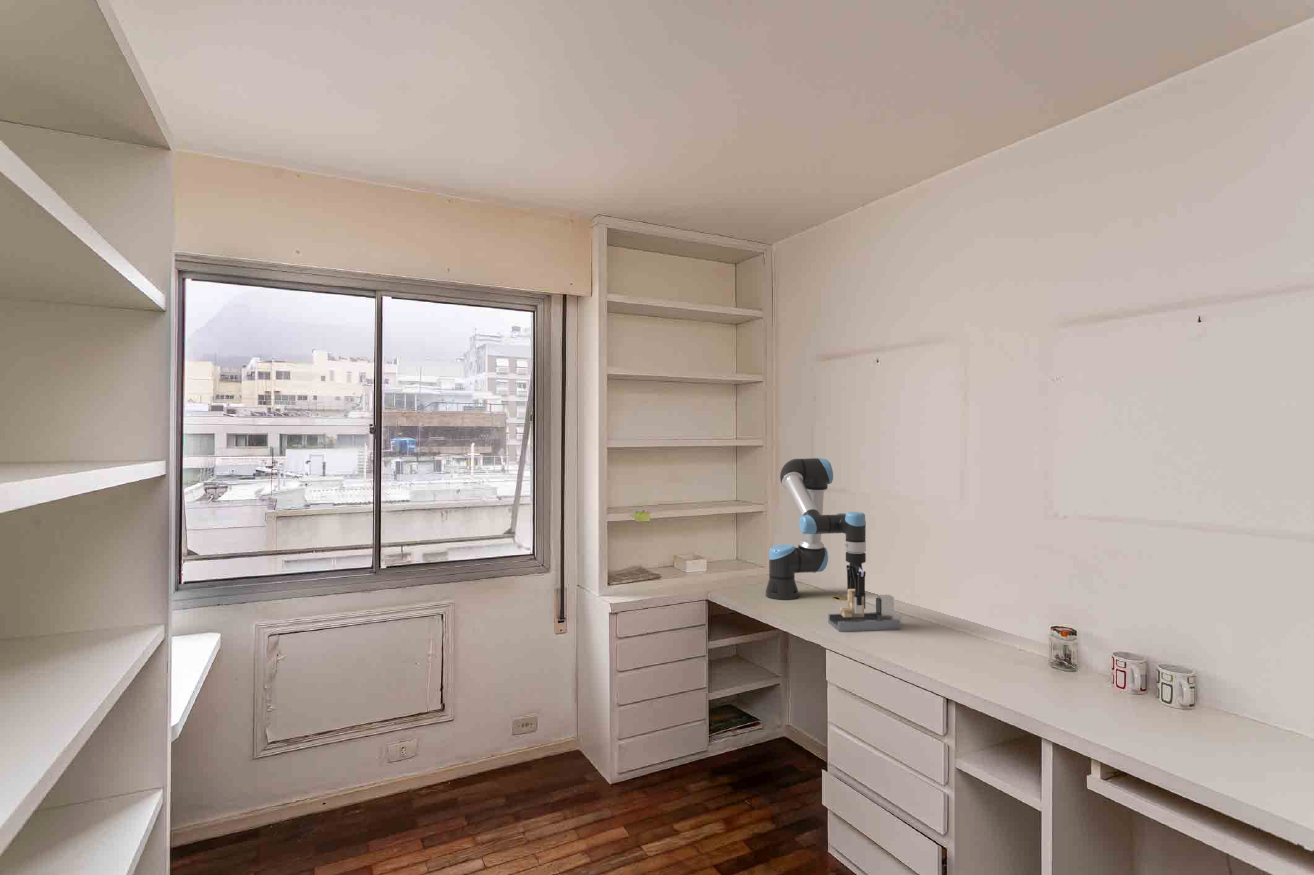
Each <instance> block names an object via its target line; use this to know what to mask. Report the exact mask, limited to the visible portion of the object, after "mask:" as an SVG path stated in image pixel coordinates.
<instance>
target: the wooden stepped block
mask: <svg viewBox="0 0 1314 875" xmlns="http://www.w3.org/2000/svg"><path fill="white" fill-rule="evenodd" d="M854 595H856V593H855V589H847V606H840V608H839V609H840V610H839V611H840V612H839V614H840V615H842V616H843V617H864V613H865V610H866V595H865V596H863V597H862V613H857V614H855V597H854Z"/></svg>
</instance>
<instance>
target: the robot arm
mask: <svg viewBox="0 0 1314 875" xmlns="http://www.w3.org/2000/svg"><path fill="white" fill-rule="evenodd" d="M779 479H780V480H779V481H780V483H781V486H782V487H783V489H785V490H787V493H788V494H789V496H790V498H791V500H792V502H793V504H794V506H795V508H796V511H797V512H798V514H799V516H800V518H799V521H798V526H799V530H800V532H801V535H802V536H801V540H799V541H798V545H797V546H798V547H795V545H794V544H790V543H788V544H785V543H784V544H777V545H773V546H772V547H770V548H769V551H768V552H769V553H768V565H769V566H768V569H769V570H768V571H769V575H768V578H769V579H768V581H767V586H766V587H765V588H766V589H765V596H766V597H767V598H770V599H773V600H774V599H775V600H782V601H783V600H786V601H787V600H795V599H797V598H799V597H800V596H799V593H800V592H799V589H798V585H797V583H796V576H795V575H796V574H799V573H801V574H802V573H803V574H804V573H805V574H806V573H821V572H823V571H825V570H826V567H827V565H828V563H829V555H828V554H829V552H828V550H827V548H826V547H825V545H824V542H823V541H822V534H827V535H828V534H845V543H844V546H845V551H846V552H845V562H847V563H849V564H846V565H845V566H846V579H847V580H846V581H847V582H846V584H847V585H846V586H847V590H848V589H855V593H856V595H854V597H855V614H857V613H862V597H863V596H865V597H866V591H865V590H866V573H867V572H866V571H864V570H863V564H865V563H866V562H867V558H866V557H867V556H866V555H867V554H866V551H867V546H866V545H867V540H866V531H867V530H866V529H867V528H866V525H867V522H866V515H865V513H864V512H860V511H847V512H846V513H842V512H841V513H836V514H823V513H824V512H823V510H824V498H825V496H824V495H825V494H824V493H825V492H826V491H827V490H828V487H829V486H828V485H830V484H832V483H833V480H834V471H833V468H832V464H831V462H830V461H829V460H828V459H826V458H820V457H819V458H818V457H814V458H813V457H812V458H792V459H791V460H789V461H787V462H786V463H785V464H784V465H783V466H782V467H781V470H780V473H779Z"/></svg>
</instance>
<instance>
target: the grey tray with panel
mask: <svg viewBox="0 0 1314 875" xmlns="http://www.w3.org/2000/svg"><path fill="white" fill-rule="evenodd" d="M827 619H828V620H827V623H828V624H829V625H831V626H832V627H833V628H834V629H835V630H837V631H838V632H839V633H842V632H843V633H844V632H870V631H871V632H873V631H894V630H895V631H896V630H900V629H901V623H902V614H901V613H899V612H898V611H895V598H894V596H892V595H891V594H877V595H876V597H875V612H864V617H843V616H842V615H840V613H828V616H827Z"/></svg>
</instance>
